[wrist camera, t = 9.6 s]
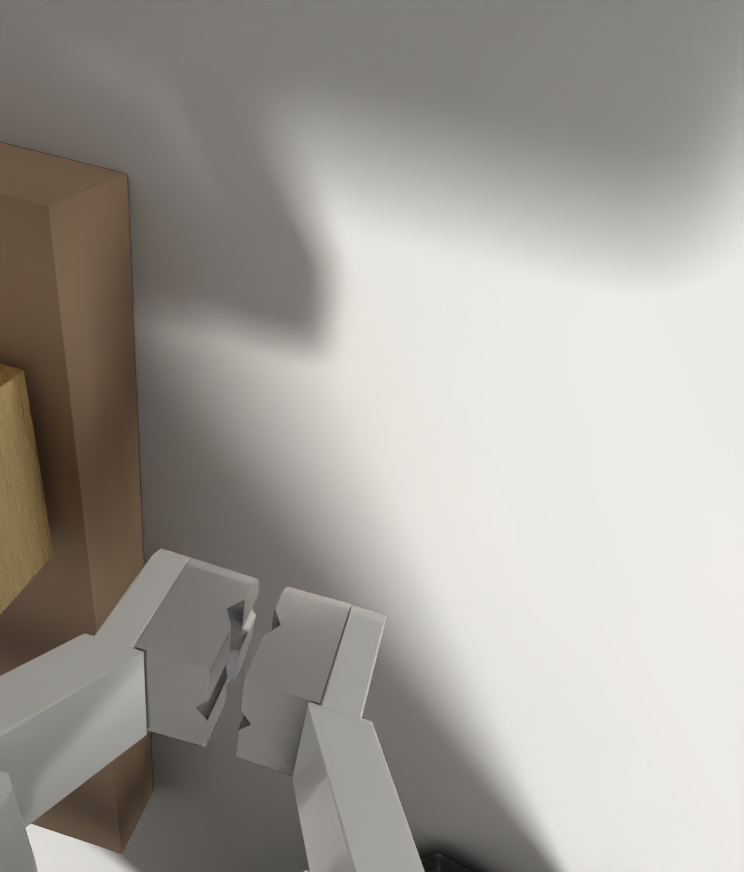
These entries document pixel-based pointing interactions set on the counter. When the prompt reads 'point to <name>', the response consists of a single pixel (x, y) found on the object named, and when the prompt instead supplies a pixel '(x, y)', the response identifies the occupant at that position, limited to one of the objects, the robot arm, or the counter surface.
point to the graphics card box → (441, 864)
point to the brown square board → (76, 434)
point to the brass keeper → (19, 491)
